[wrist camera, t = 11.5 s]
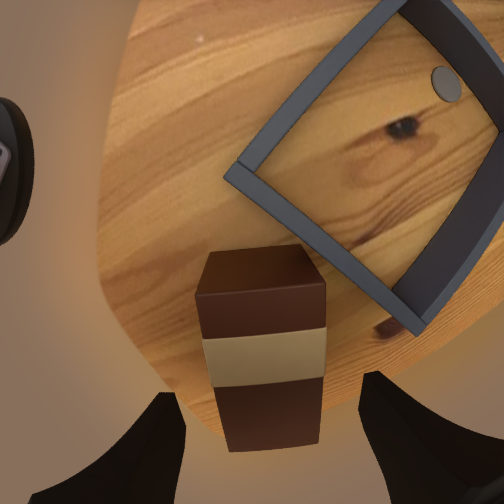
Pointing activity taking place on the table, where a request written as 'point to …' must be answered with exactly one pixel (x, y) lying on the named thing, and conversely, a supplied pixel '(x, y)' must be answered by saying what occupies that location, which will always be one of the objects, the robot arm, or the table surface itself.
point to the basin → (469, 206)
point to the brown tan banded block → (264, 345)
